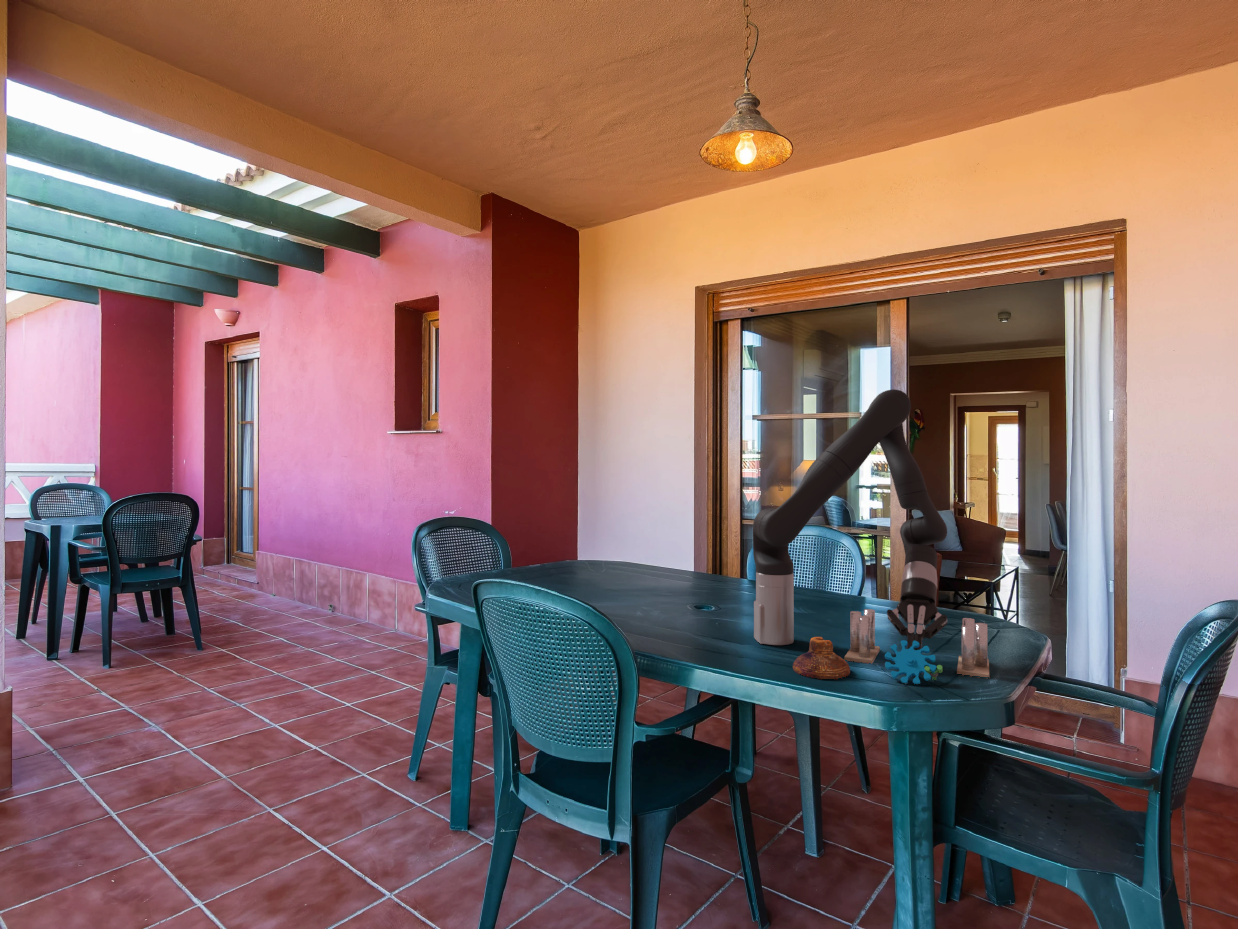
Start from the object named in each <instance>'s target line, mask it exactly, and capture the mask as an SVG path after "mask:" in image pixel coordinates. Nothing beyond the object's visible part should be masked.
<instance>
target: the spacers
mask: <svg viewBox="0 0 1238 929" xmlns="http://www.w3.org/2000/svg"><path fill="white" fill-rule="evenodd" d="M849 612H850V614H849V615H850V618H849V619H850V620H849V621H850V628H849V629H850V630H849V631H850V634H849V635H850V638H849V639H850V646H849V647H850V648H849V650H850V651H852V652H859V657H862V658H870V649H875V646H876V610H875V609H872V608H867V609H866V608H865V609H863V615H862V612H860V611H858V610H857V611H855V610H854V611H853V610H852V611H849ZM975 621H976V620H975V619H974V618H971V617H970V618H969V617H963V618H962V625H961V656H962V669H963V670H968V671H973V670H974V660H975V666H978V667H987V659H988V624H987V623H985V622H975Z"/></svg>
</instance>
